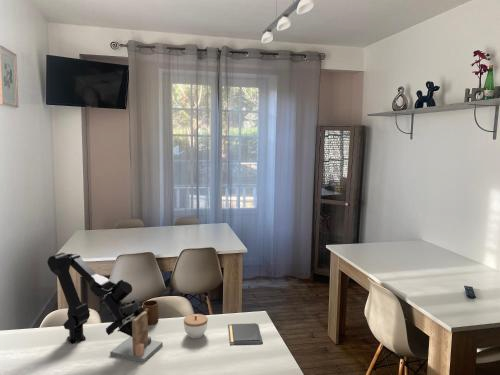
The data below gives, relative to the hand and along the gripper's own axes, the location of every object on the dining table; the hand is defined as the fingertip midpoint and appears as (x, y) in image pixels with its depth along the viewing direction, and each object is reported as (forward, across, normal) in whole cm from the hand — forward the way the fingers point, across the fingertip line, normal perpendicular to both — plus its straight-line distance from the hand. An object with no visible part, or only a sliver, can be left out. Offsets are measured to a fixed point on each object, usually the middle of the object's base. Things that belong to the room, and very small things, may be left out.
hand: (137, 336), depth 160 cm
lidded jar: (+16, +22, -7) cm, 28 cm away
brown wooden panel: (+4, +1, +3) cm, 5 cm away
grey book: (+30, +31, -21) cm, 48 cm away
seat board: (+4, +2, +6) cm, 7 cm away
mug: (-2, +24, +13) cm, 28 cm away
